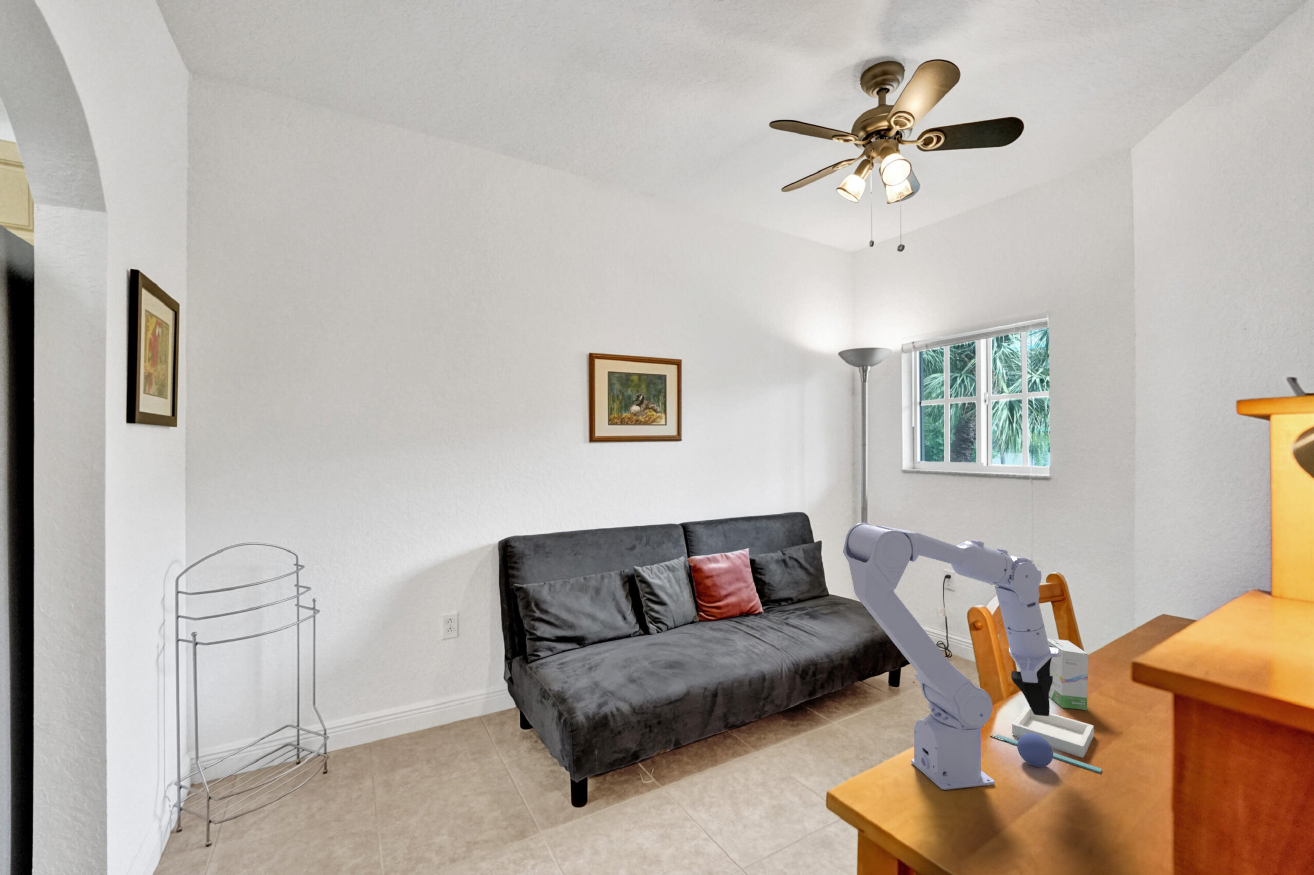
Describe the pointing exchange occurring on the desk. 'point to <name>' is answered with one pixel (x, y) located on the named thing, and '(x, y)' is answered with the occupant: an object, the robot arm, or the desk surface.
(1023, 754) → the ball
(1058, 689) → the ink box
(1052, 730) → the tray
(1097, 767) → the teal line
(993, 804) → the desk surface
